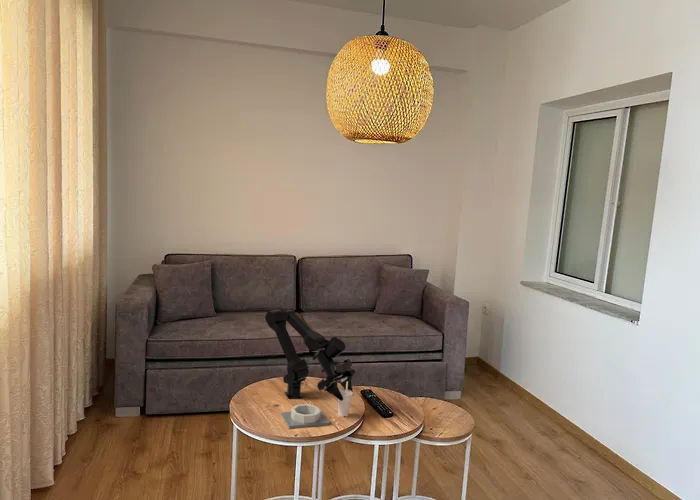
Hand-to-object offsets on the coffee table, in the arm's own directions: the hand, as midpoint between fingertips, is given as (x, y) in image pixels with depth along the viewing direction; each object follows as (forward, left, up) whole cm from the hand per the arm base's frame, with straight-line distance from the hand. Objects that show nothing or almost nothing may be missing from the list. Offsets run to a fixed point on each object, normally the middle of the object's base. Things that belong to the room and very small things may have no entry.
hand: (347, 397), depth 203 cm
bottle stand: (0, -17, -8) cm, 18 cm away
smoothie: (-1, -1, -8) cm, 8 cm away
